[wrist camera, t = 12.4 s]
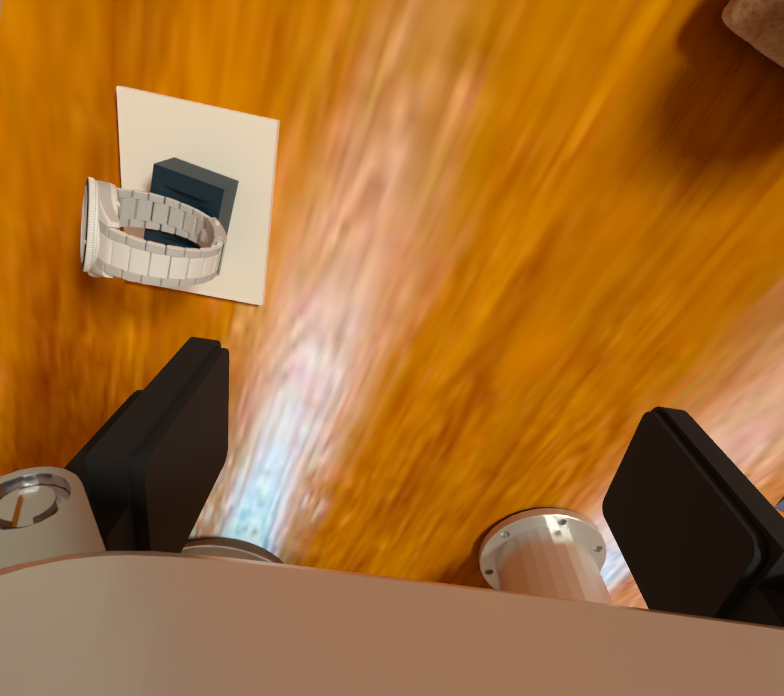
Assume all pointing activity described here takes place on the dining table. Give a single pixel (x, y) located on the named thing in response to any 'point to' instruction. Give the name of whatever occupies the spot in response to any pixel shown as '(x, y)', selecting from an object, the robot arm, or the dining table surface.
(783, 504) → the signage
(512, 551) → the robot arm
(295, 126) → the dining table surface
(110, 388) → the dining table surface
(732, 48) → the dining table surface
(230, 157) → the pad
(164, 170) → the watch
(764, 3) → the brown boot
